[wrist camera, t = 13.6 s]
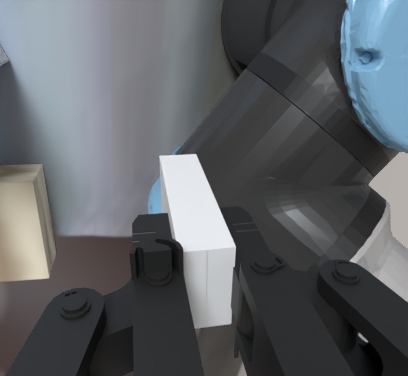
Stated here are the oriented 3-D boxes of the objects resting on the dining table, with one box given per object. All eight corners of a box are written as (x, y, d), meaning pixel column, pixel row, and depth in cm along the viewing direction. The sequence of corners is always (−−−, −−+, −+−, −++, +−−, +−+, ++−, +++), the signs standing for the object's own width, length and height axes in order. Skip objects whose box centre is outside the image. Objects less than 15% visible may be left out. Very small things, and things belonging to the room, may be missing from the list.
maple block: (43, 163, 42) (33, 182, 37) (56, 252, 47) (49, 278, 43) (-47, 165, 40) (-69, 185, 36) (-22, 257, 45) (-39, 285, 41)
